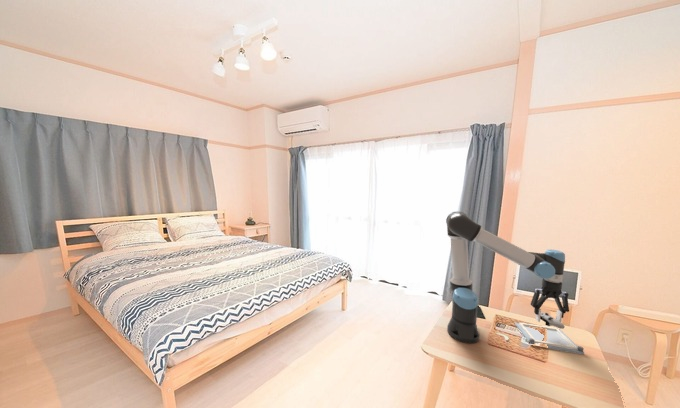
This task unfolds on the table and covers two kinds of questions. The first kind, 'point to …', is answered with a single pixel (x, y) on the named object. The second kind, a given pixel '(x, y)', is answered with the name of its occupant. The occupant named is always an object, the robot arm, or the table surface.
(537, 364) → the table surface
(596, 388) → the table surface
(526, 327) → the chassis
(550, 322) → the gaming controller
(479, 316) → the smartphone
